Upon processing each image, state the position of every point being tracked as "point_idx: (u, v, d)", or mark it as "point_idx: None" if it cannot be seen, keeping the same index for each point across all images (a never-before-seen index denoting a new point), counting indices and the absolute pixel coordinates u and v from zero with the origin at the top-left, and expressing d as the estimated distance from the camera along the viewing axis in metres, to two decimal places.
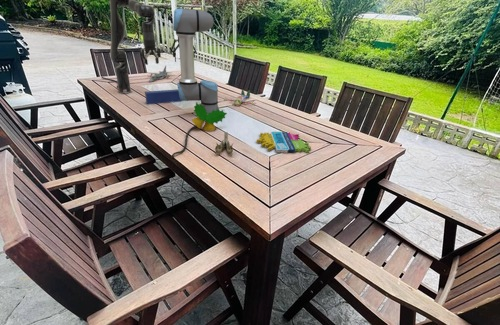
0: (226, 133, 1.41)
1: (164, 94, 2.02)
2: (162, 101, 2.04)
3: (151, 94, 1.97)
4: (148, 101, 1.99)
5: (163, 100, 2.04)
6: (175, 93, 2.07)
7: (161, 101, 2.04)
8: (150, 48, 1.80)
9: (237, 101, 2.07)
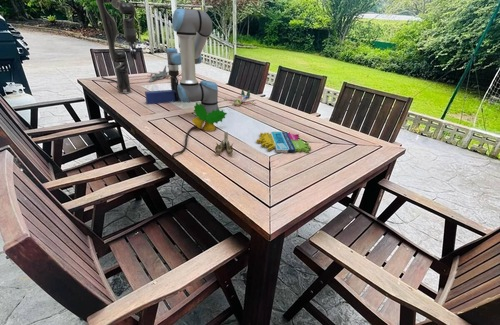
0: (226, 133, 1.41)
1: (164, 94, 2.02)
2: (162, 101, 2.04)
3: (151, 94, 1.97)
4: (148, 101, 1.99)
5: (163, 100, 2.04)
6: None
7: (161, 101, 2.04)
8: None
9: (237, 101, 2.07)
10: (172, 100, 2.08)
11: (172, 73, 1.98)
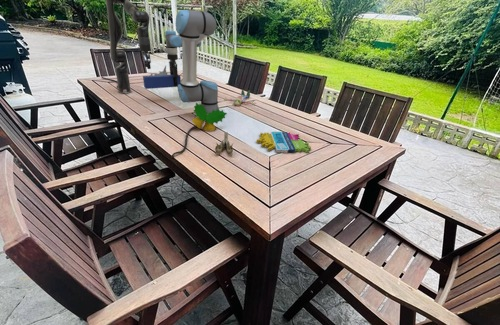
0: (226, 133, 1.41)
1: (162, 79, 1.97)
2: (161, 86, 1.98)
3: (149, 78, 1.92)
4: (146, 86, 1.93)
5: (161, 85, 1.98)
6: None
7: (159, 86, 1.98)
8: None
9: (237, 101, 2.07)
10: (171, 85, 2.02)
11: (171, 57, 1.92)
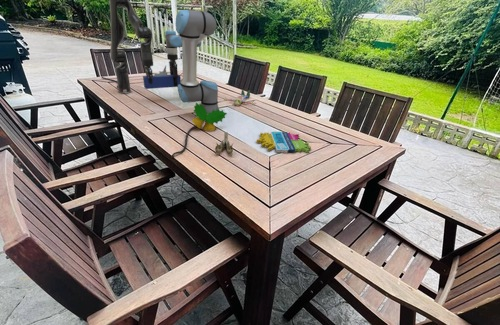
0: (226, 133, 1.41)
1: (162, 79, 1.97)
2: (161, 86, 1.98)
3: None
4: (146, 86, 1.93)
5: (161, 85, 1.98)
6: None
7: (159, 86, 1.98)
8: None
9: (237, 101, 2.07)
10: (171, 85, 2.02)
11: (171, 57, 1.92)
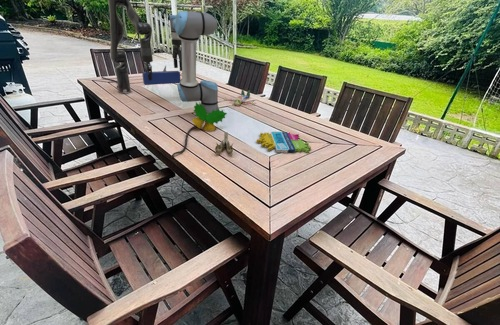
0: (226, 133, 1.41)
1: (162, 75, 1.96)
2: (160, 82, 1.97)
3: None
4: (145, 82, 1.92)
5: (161, 81, 1.97)
6: (174, 75, 2.00)
7: (159, 82, 1.97)
8: None
9: (237, 101, 2.07)
10: (170, 82, 2.01)
11: (175, 42, 1.89)
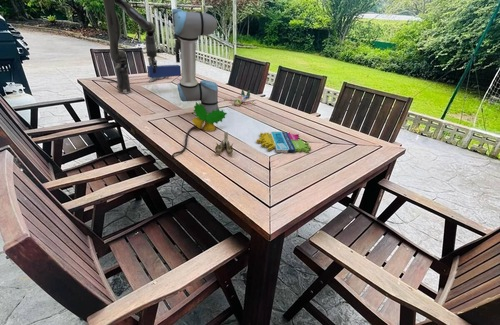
0: (226, 133, 1.41)
1: (165, 69, 2.18)
2: (163, 75, 2.19)
3: None
4: (150, 75, 2.13)
5: (164, 74, 2.19)
6: (175, 68, 2.23)
7: (162, 75, 2.19)
8: None
9: (237, 101, 2.07)
10: (172, 74, 2.24)
11: (177, 36, 1.88)
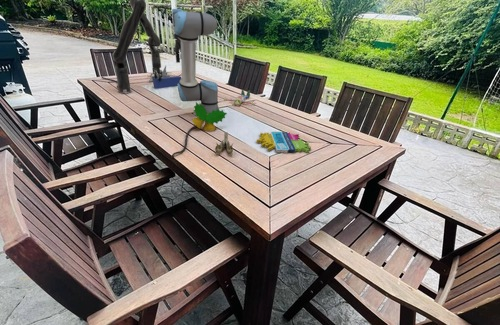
0: (226, 133, 1.41)
1: (168, 80, 2.45)
2: (167, 86, 2.46)
3: None
4: (156, 86, 2.39)
5: (167, 85, 2.46)
6: (177, 79, 2.51)
7: (166, 86, 2.46)
8: None
9: (237, 101, 2.07)
10: (174, 85, 2.51)
11: (177, 36, 1.88)
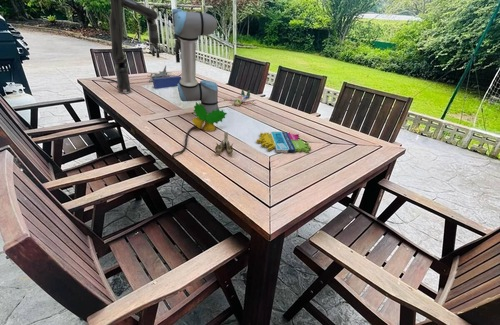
0: (226, 133, 1.41)
1: (168, 80, 2.45)
2: (167, 86, 2.46)
3: (159, 80, 2.39)
4: (156, 86, 2.39)
5: (167, 85, 2.46)
6: (177, 79, 2.51)
7: (166, 86, 2.46)
8: None
9: (237, 101, 2.07)
10: (174, 85, 2.51)
11: (177, 36, 1.88)
